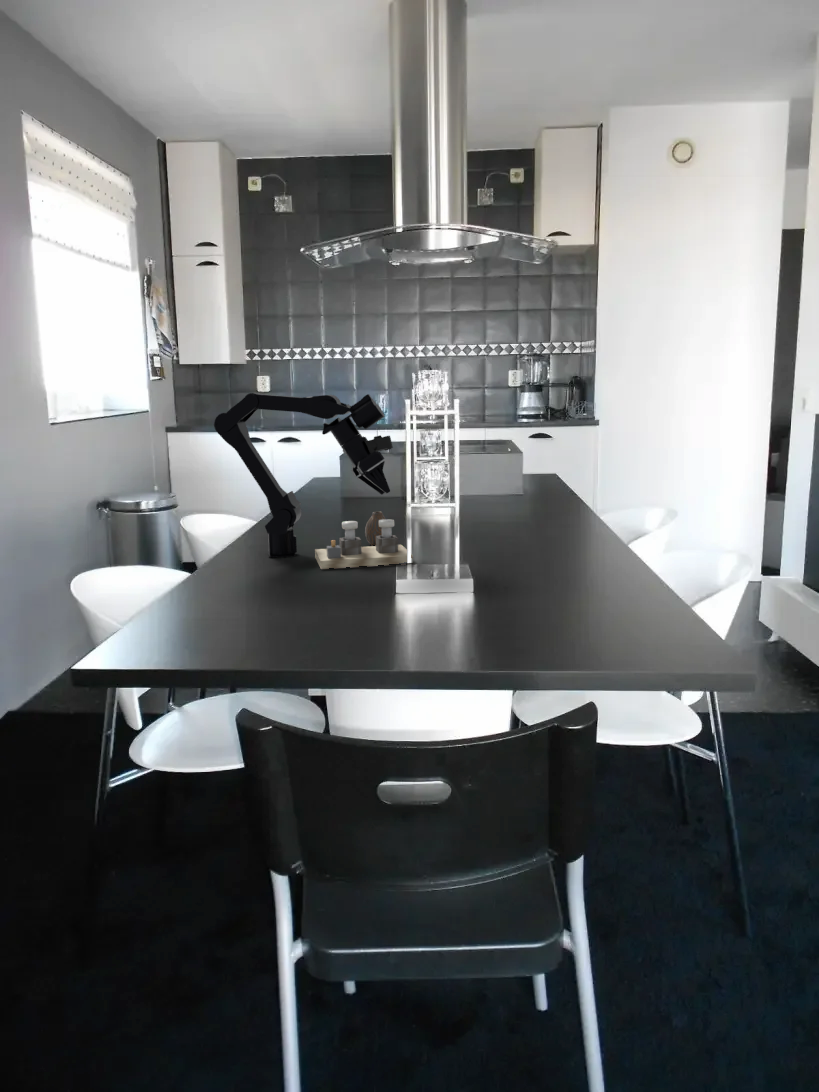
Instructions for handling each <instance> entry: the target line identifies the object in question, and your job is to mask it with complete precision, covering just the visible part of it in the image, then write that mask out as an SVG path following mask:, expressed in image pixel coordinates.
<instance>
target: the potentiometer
mask: <svg viewBox="0 0 819 1092" xmlns="http://www.w3.org/2000/svg"><path fill="white" fill-rule="evenodd" d="M330 542H331V543H330V545H326V549H327V557H328V559H331V558H341V548H340V544H337V543H336V540H335V539H332V540H330ZM336 544H337V545H336Z"/></svg>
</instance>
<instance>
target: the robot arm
mask: <svg viewBox="0 0 819 1092" xmlns="http://www.w3.org/2000/svg"><path fill="white" fill-rule="evenodd" d="M258 410H267V411H279V412H293V413H302V414H306V415H308V416H311V417H316V418H319V419H323V420H330V419H333V418H335V419H334V420H332V421H331V422H329V423H328V422H324V423H323V424H322V425H323V427H322V428H323V429H322V433H321V434H322V435H327V434H329V433H331V434H332V435H333V437H334V439H335V440H336V441H337V443H338V445H340V448H341V449H342V452H343V454H345V455H346V456H347V458H348V460H349V461H350V462H351V465H352V466H351V470H350V471H351V474H353V475H354V477H355V478H357V480H359V481H361V482H362V483H364V484H365V485H367V486H368V487H370V488H372V489H373V490H374V491H376V492H377V493H378V494H380V495H385V494H389V493H391V489H390V486H389V484H388V481H387V478H386V476H385V474H384V471H383V470H384V465H385V462H386V461H385V457H384V455H383V454H382V453H381V452H382V451H389V450H392V449H393V448H394V447H393V442H392V439H391V438H392V437H391V435H386V436H382V435H375V436H373V439H369V440H368V438H367V437H366V436H362V434H361V432H360V431H359V429H361V428H363V429H365V430H368V429H369V428H371V427H372V426H373V425H375V424H376V423H377V422H379V421H380V420H382V419H384V418H385V414H384V411H383V410H382V408H381V406H380V405H379V404H378V403H377V402H376V401H375V400H374V398H373V397H372V396H371V395H370V394H366V395H364V396H363V397H362V398H360V399H359V401H357V402H355V403H353V404H352V405H350V404H347V403H344V402H341V400H340V399H339V398H338V397H337V396H336V395H334V394H323V395H314V396H305V397H304V396H290V395H277V394H263V393H258V392H250V393H249V392H248V394H246V395H245V396H244V397H243V398H242V399H241V400H240V401H239V402H238V403H236V404H235V405H234V406H232V407H231V408H230V409H229V410H227V412H221V413H219V414H218V415H217V416H216V417H215V418H214V423H213V426H214V427H213V428H214V431H215V432H216V433H217V434H218V436H220V437H221V438H222V440H224V441H225V443H227V444H228V445H229V446H231V448H233V449H234V450H235V452H236V453H237V454H238V456H239V457H240V459H241V460H242V462H243V463H244V465H245V466H246V468H247V469H248V471H249V472H250V474H251V476H252V477H253V479H254V480H255V482H256V484H257V485H258V487H259V488H260V490H261V491H262V492H263V495H264V496H265V497H266V500H267V504H268V508H269V511H270V512H271V515H272V518H271V519H270V520H269V521H268V522H267V523H266V524H265V525H264V527H265V530H266V531H265V532H266V533H267V535H268V538H267V539H268V540H267V541H268V557H269V558H284V557H285V558H286V557H295V556H296V553H297V551H298V549H297V535H295V533H294V529H293V528H294V526H295V523H297V522H298V521H299V520H300V518H301V516H302V511H303V510H302V508H301V505H302V503H301V502H300V501H299V500H298V499H297V497H296V495H295V493H294V491H293V490H291V491H289V492H287V491H285V490H284V489H283V488H282V487H281V485H280V484H279V482H278V481H277V479H276V478H275V476H274V475H273V473H272V472H271V470H270V468H269V467H268V466H267V463H266V462H265V461H264V459H263V458H262V456H261V455H260V453H259V451H258V450H257V448H256V447H255V445H254V444H253V442H252V440H251V437H250V433H249V430H248V427H247V424H246V422H247V421H249V419H250V418H251V417H253V416H254V414H255V413H256V412H257V411H258ZM347 414H348V415H347ZM342 415H343V416H344V415H346V417H344V418H343V419H342V418H340V417H338V416H342ZM336 417H337V418H336ZM351 418H352V419H351ZM352 420H353V421H352ZM357 427H358V428H359V429H358V428H357Z"/></svg>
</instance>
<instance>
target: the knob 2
mask: <svg viewBox="0 0 819 1092" xmlns="http://www.w3.org/2000/svg"><path fill="white" fill-rule="evenodd" d="M379 527H382V538H392V535H393V534H392V528H393V527H395V520H394V519H391V518H386V519H382V520H379Z"/></svg>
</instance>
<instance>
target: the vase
mask: <svg viewBox="0 0 819 1092" xmlns="http://www.w3.org/2000/svg"><path fill="white" fill-rule="evenodd" d="M382 519H387V518H386V517H385V516H384V513H383V512H382V511H373V512H372V514H371V516H370V517H369V519H368V521H367V522H366V523H365V524H366V525H365V529H364V535H365V539H366V541H367V542H368V544H369V545H371V546H373V545H375V546H376V536H381V535H382V527H379V520H382Z"/></svg>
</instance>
